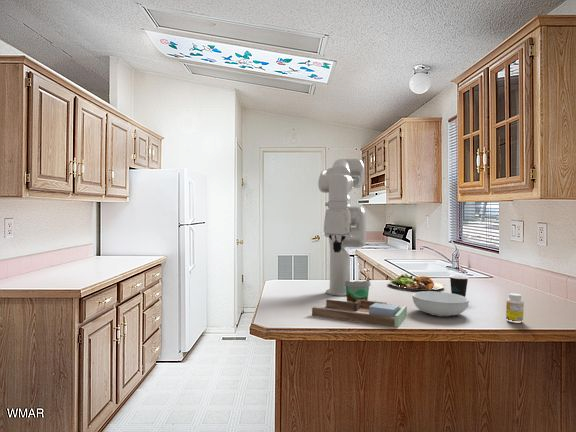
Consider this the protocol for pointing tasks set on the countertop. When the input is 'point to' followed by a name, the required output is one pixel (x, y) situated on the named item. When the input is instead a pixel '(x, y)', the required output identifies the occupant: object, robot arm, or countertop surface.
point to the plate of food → (416, 282)
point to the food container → (357, 290)
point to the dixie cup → (458, 284)
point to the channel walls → (352, 315)
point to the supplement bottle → (514, 307)
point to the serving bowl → (440, 303)
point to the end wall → (400, 316)
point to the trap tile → (364, 309)
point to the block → (383, 309)
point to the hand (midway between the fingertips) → (337, 251)
